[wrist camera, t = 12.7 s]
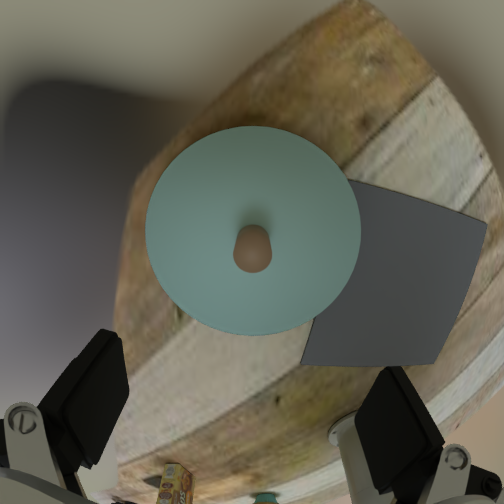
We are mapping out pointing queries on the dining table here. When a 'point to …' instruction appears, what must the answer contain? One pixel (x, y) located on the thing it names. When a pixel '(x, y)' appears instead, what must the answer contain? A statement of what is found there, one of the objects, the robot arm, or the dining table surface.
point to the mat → (398, 284)
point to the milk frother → (122, 503)
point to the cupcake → (265, 499)
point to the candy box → (176, 485)
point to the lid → (253, 230)
